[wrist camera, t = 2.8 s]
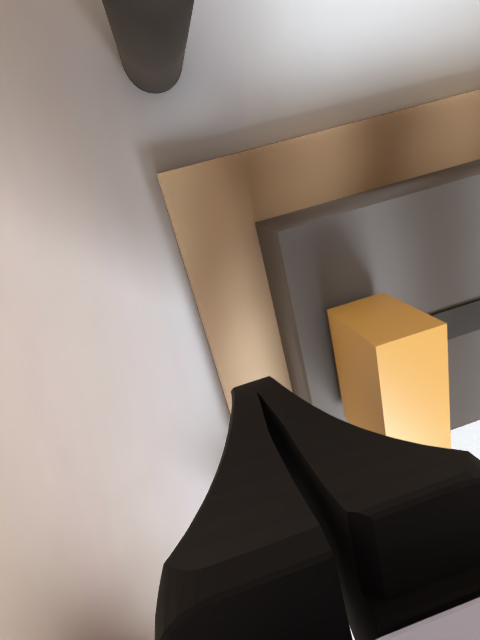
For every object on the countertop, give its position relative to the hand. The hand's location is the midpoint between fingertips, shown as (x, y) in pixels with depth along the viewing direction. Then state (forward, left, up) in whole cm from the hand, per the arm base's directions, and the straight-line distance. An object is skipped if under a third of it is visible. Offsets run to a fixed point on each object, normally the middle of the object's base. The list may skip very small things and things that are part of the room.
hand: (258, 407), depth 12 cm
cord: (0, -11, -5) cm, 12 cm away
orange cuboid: (-4, 0, -1) cm, 4 cm away
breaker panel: (-7, 0, -5) cm, 8 cm away
